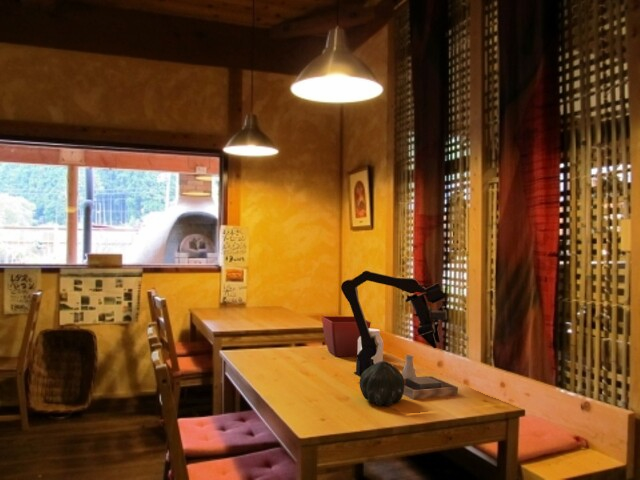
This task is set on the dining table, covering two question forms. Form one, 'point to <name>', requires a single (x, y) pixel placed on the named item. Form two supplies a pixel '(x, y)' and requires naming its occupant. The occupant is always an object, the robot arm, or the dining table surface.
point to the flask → (408, 367)
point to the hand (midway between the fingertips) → (437, 345)
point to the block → (422, 383)
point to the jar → (379, 353)
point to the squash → (382, 384)
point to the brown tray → (431, 391)
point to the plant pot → (341, 335)
